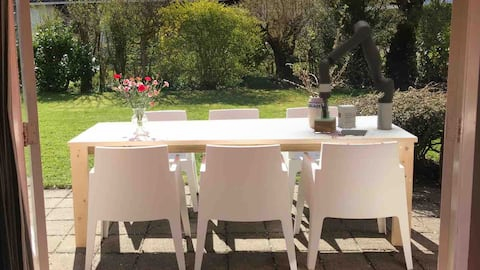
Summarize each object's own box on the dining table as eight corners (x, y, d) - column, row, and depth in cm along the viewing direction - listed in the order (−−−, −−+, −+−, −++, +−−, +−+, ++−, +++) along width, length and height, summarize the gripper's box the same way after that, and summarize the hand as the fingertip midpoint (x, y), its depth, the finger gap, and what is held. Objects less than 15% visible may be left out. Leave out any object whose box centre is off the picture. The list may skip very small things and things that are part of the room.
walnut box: (318, 130, 339) (317, 118, 337) (336, 130, 335) (336, 118, 333) (314, 133, 328) (314, 120, 326) (333, 133, 324) (333, 121, 322)
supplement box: (337, 126, 349) (337, 105, 346) (349, 125, 352) (349, 104, 349) (344, 128, 340) (344, 106, 338) (355, 127, 343) (356, 105, 340)
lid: (317, 119, 337) (317, 109, 336) (336, 119, 333) (336, 110, 332) (314, 122, 326) (314, 112, 325) (333, 122, 322) (333, 112, 321)
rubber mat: (342, 130, 334) (342, 129, 334) (367, 130, 329) (367, 130, 329) (338, 135, 318) (338, 134, 317) (364, 136, 312) (364, 135, 312)
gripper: (321, 89, 334) (321, 115, 337) (317, 91, 321) (317, 118, 324) (332, 89, 331) (332, 115, 335) (329, 91, 319) (329, 119, 322)
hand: (325, 117), depth 329 cm, fingers closed on lid, 2 cm apart
